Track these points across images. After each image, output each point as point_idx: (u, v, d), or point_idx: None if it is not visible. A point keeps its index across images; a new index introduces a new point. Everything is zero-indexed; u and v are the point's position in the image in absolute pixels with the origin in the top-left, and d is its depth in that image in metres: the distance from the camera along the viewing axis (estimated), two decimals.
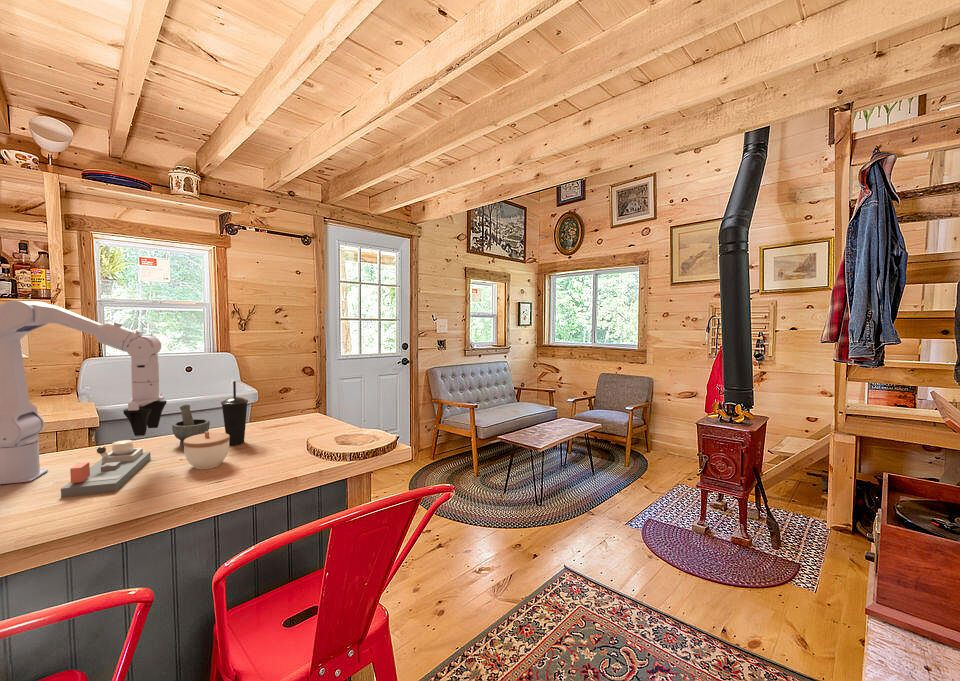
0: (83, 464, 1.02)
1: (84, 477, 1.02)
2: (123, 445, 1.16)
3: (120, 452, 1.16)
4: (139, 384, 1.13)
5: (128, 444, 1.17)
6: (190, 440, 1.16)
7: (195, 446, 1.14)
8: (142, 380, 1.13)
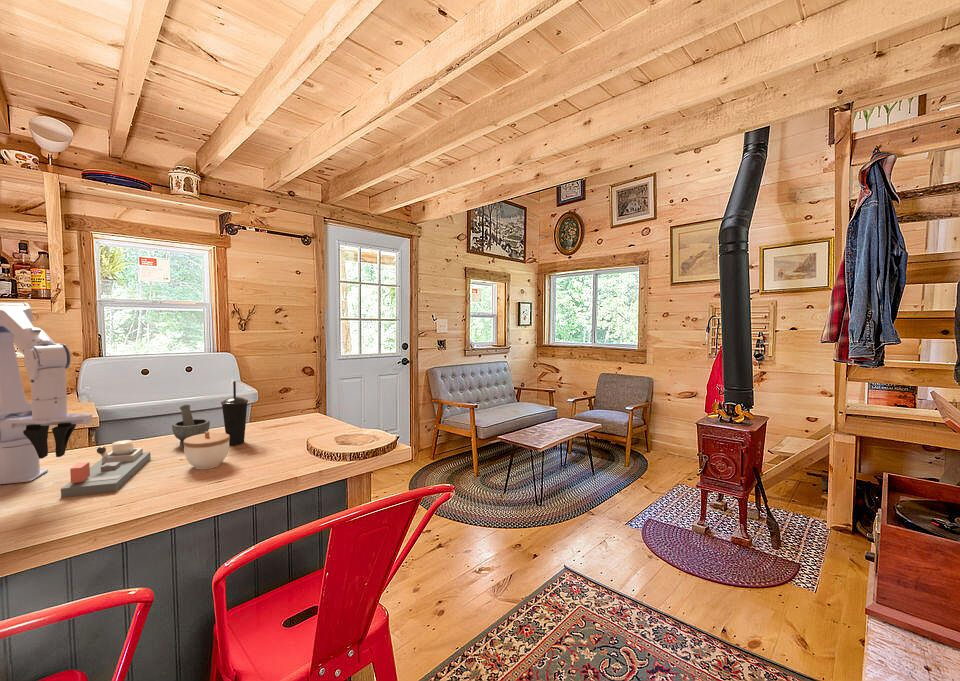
0: (83, 464, 1.02)
1: (84, 477, 1.02)
2: (123, 445, 1.16)
3: (120, 452, 1.16)
4: None
5: (128, 444, 1.17)
6: (190, 440, 1.16)
7: (195, 446, 1.14)
8: (33, 397, 0.96)
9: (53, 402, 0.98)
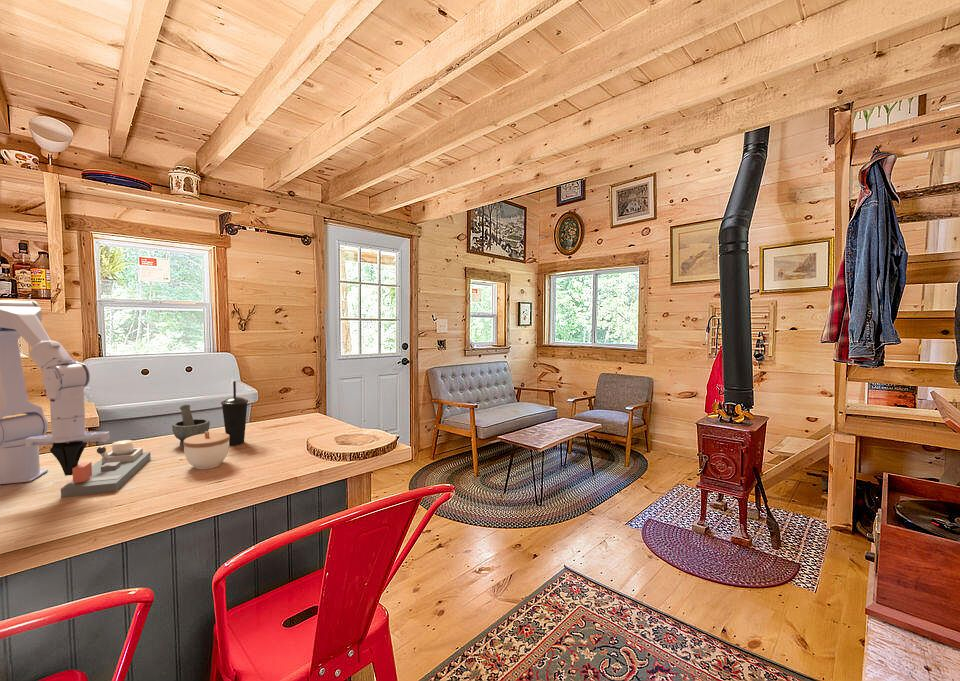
0: (85, 464, 1.03)
1: (86, 477, 1.02)
2: (123, 445, 1.16)
3: (120, 452, 1.16)
4: None
5: (128, 444, 1.17)
6: (190, 440, 1.16)
7: (195, 446, 1.14)
8: (53, 416, 0.98)
9: (72, 421, 0.99)
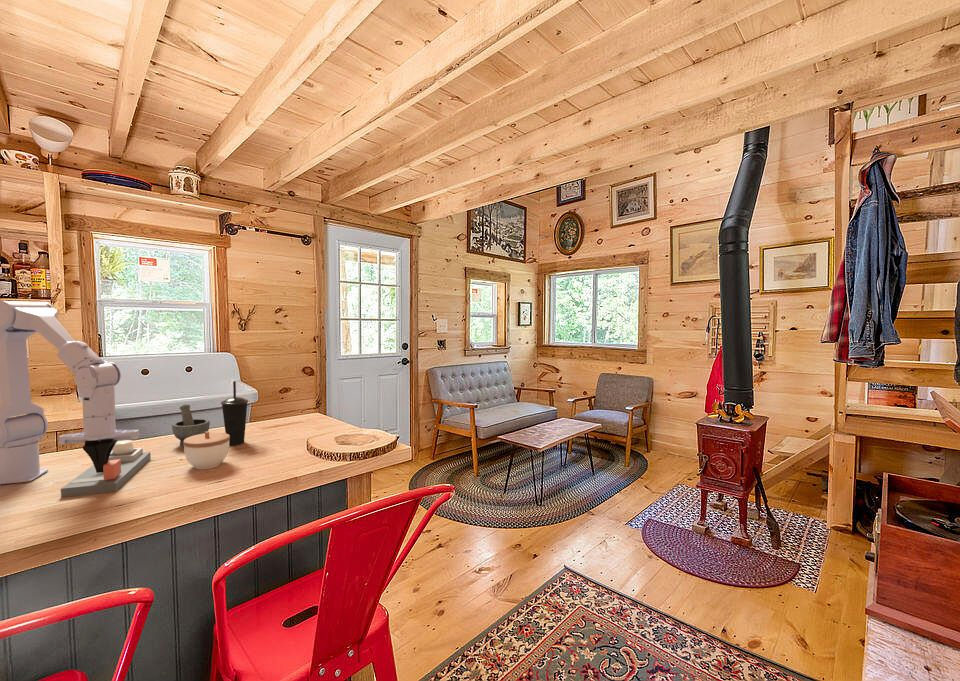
0: (115, 461, 1.05)
1: (116, 474, 1.04)
2: (123, 445, 1.16)
3: (120, 452, 1.16)
4: None
5: (128, 444, 1.17)
6: (190, 440, 1.16)
7: (195, 446, 1.14)
8: (87, 415, 1.00)
9: (104, 419, 1.01)
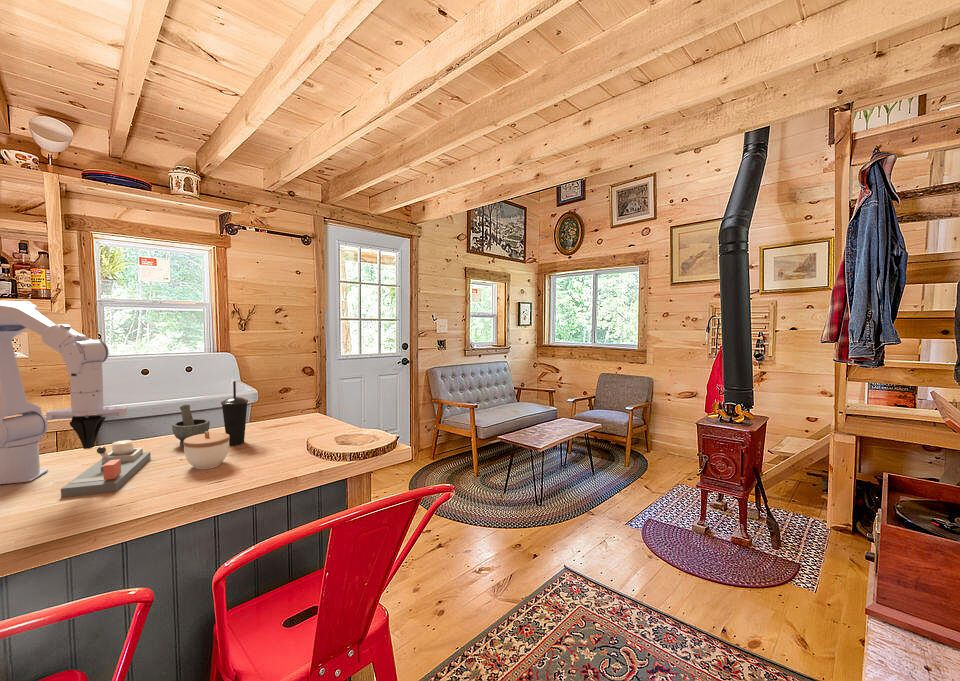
0: (115, 461, 1.05)
1: (116, 474, 1.04)
2: (123, 445, 1.16)
3: (120, 452, 1.16)
4: None
5: (128, 444, 1.17)
6: (190, 440, 1.16)
7: (195, 446, 1.14)
8: (75, 390, 1.00)
9: (91, 395, 1.01)
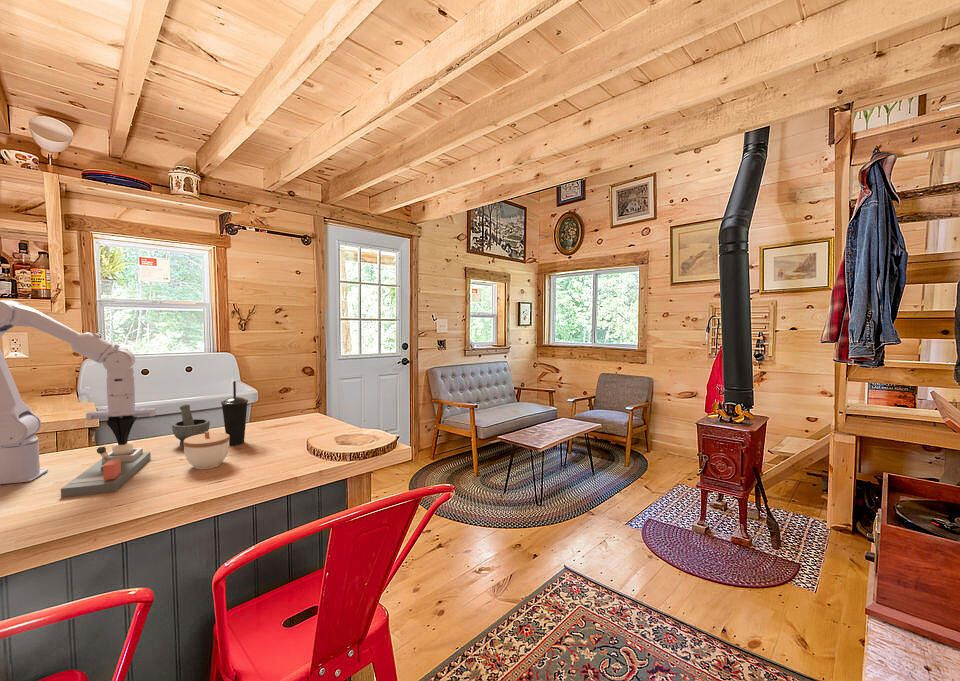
0: (115, 461, 1.05)
1: (116, 474, 1.04)
2: (123, 446, 1.16)
3: (120, 453, 1.16)
4: None
5: (128, 445, 1.17)
6: (190, 440, 1.16)
7: (195, 446, 1.14)
8: (120, 393, 1.15)
9: (125, 398, 1.15)
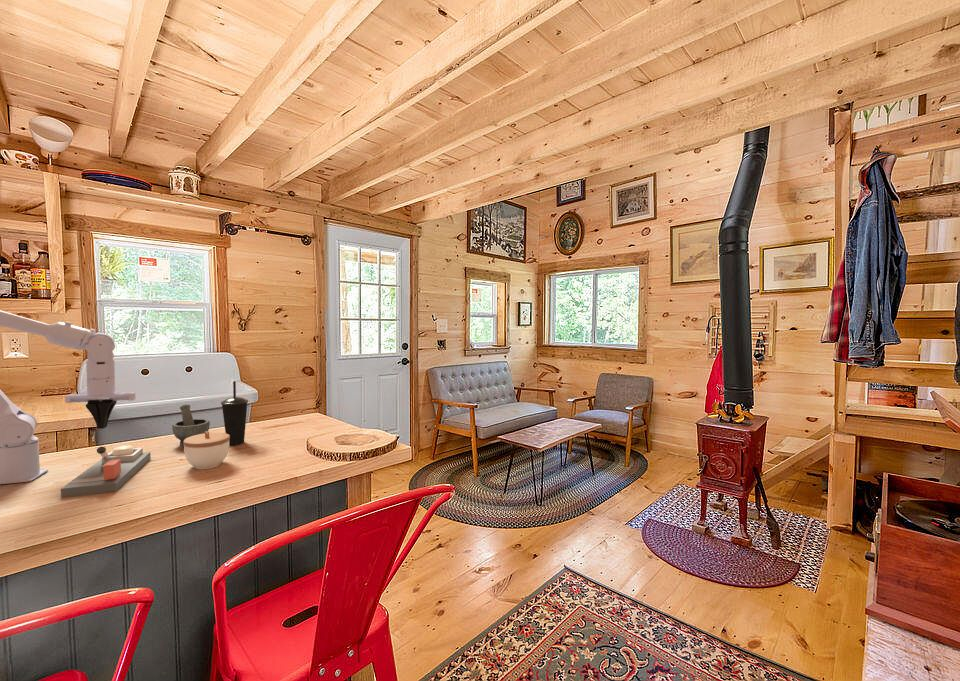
0: (115, 461, 1.05)
1: (116, 474, 1.04)
2: (123, 451, 1.16)
3: None
4: None
5: (128, 450, 1.17)
6: (190, 440, 1.16)
7: (195, 446, 1.14)
8: (102, 377, 1.15)
9: (104, 381, 1.16)
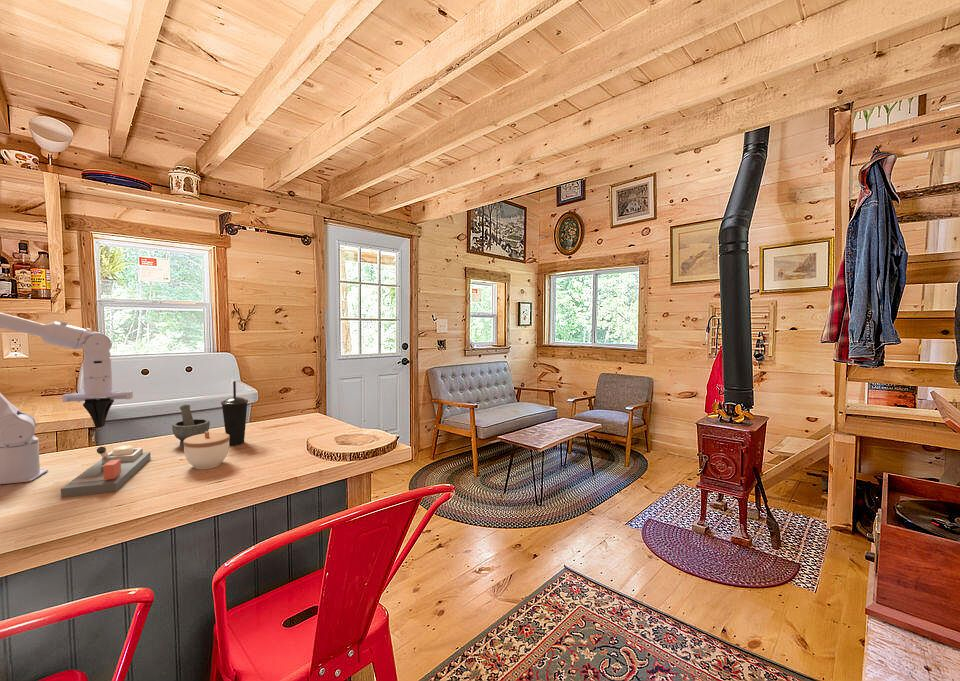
0: (115, 461, 1.05)
1: (116, 474, 1.04)
2: (123, 451, 1.16)
3: None
4: None
5: (128, 450, 1.17)
6: (190, 440, 1.16)
7: (195, 446, 1.14)
8: (99, 375, 1.15)
9: (101, 380, 1.16)
